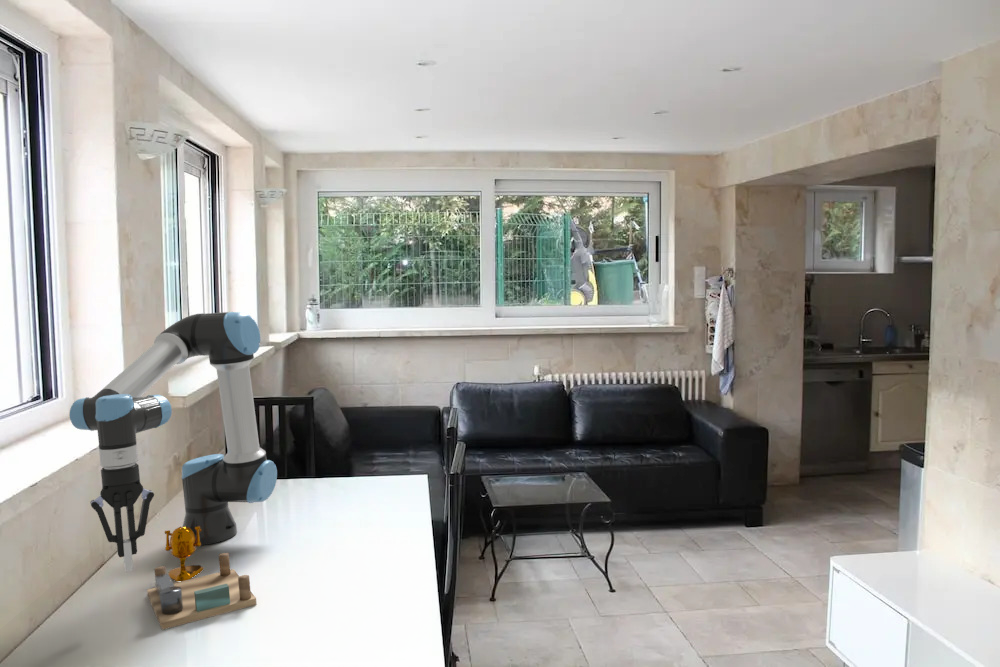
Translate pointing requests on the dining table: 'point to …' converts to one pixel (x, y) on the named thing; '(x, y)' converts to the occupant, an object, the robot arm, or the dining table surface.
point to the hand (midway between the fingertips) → (128, 569)
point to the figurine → (183, 552)
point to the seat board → (190, 599)
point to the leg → (168, 594)
